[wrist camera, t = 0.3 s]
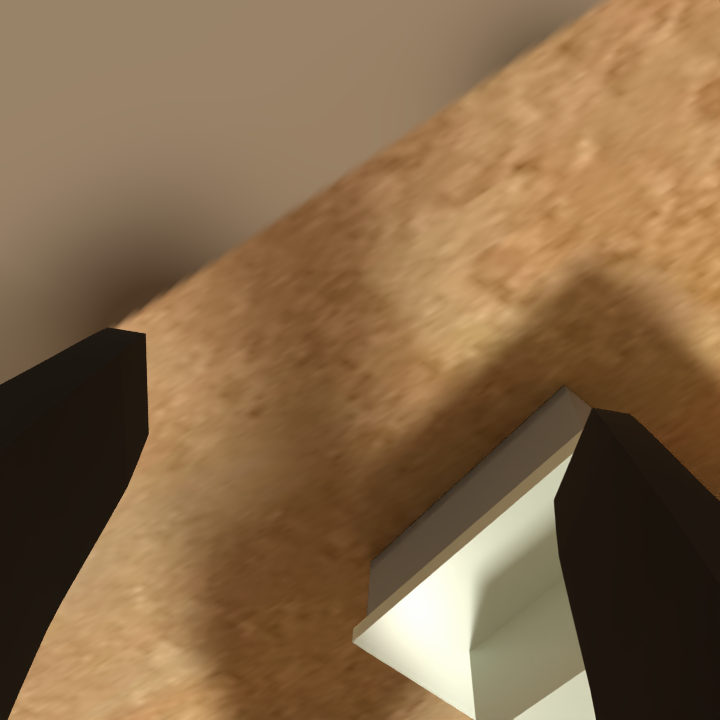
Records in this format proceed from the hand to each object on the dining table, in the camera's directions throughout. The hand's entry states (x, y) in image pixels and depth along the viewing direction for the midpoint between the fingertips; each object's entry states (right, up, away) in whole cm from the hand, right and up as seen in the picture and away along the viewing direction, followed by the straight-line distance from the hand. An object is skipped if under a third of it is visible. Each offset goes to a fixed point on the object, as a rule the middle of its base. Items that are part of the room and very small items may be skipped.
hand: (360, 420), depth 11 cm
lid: (+6, -7, +11) cm, 14 cm away
